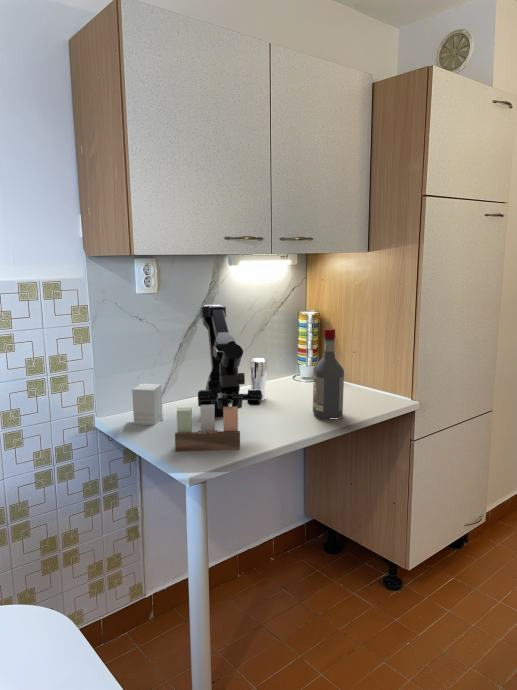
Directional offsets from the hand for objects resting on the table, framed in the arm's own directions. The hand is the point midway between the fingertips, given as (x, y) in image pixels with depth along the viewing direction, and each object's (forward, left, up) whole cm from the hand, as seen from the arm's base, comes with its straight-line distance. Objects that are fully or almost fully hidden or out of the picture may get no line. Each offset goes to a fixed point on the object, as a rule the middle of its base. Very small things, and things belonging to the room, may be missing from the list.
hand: (230, 423), depth 155 cm
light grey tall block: (-1, -7, -6) cm, 9 cm away
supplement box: (-22, -26, -7) cm, 35 cm away
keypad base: (+1, -7, -7) cm, 10 cm away
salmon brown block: (+2, 0, -6) cm, 6 cm away
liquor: (-26, +34, -7) cm, 43 cm away
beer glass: (-48, +12, -7) cm, 50 cm away
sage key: (+2, -13, -6) cm, 14 cm away
